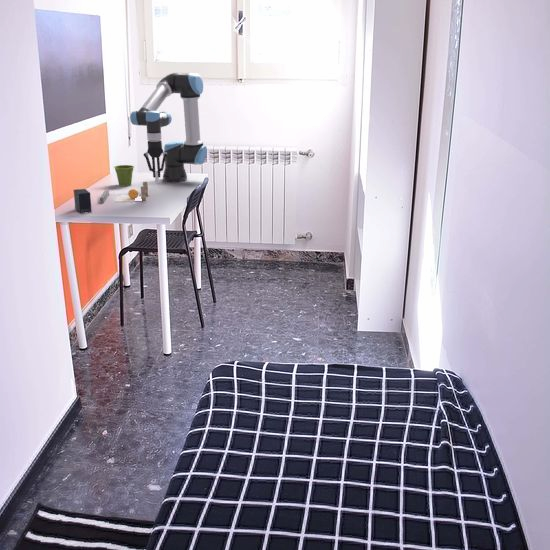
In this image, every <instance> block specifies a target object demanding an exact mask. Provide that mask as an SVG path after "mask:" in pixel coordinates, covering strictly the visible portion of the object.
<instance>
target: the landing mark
mask: <svg viewBox="0 0 550 550" xmlns="http://www.w3.org/2000/svg"><path fill="white" fill-rule="evenodd" d="M133 201H135V199H131V198H130V197H129V195H118V197H117V198H116V200H115V202H116V203H133Z"/></svg>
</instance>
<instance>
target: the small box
mask: <svg viewBox="0 0 550 550" xmlns="http://www.w3.org/2000/svg"><path fill="white" fill-rule="evenodd" d="M73 198H74V210H75V211H77V212H78V214H86V213H85V212H88V213H92V200H91V192H90V191H89V190H87V189H86V188H80V189H77V188H76V189H73Z"/></svg>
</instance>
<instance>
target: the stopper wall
mask: <svg viewBox="0 0 550 550" xmlns="http://www.w3.org/2000/svg"><path fill="white" fill-rule="evenodd" d="M109 196H110V190H109V189H104V190H103V192H102V194H101V195H100V197H99V204H105V203H106V201H107V199H108V197H109Z"/></svg>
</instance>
